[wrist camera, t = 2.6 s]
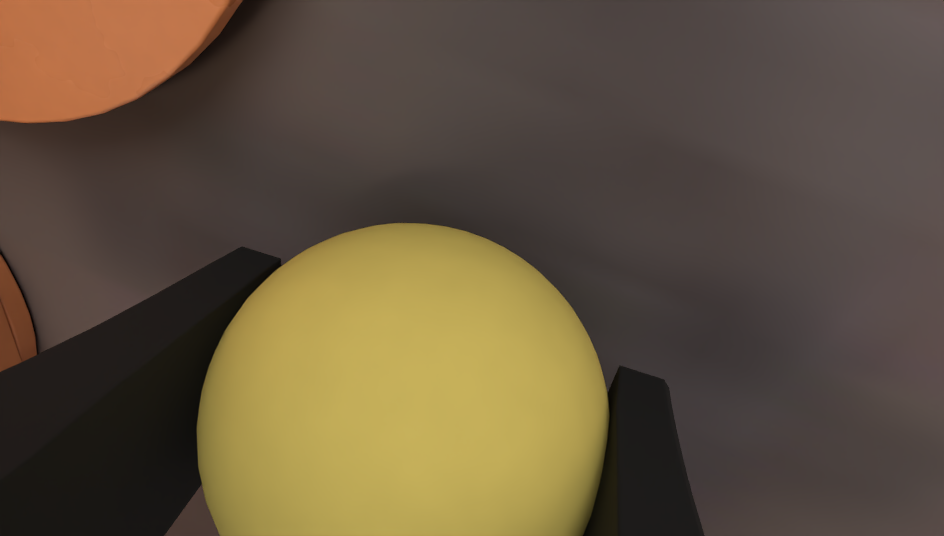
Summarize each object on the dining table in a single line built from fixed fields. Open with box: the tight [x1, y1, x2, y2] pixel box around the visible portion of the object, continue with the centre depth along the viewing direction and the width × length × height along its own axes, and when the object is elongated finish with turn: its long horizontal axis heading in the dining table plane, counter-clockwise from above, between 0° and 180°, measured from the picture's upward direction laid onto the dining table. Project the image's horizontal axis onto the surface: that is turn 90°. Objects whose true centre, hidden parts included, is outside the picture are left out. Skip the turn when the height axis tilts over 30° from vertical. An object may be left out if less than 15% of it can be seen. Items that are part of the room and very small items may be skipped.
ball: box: [197, 223, 610, 536], centre depth 9 cm, size 5×5×5 cm
